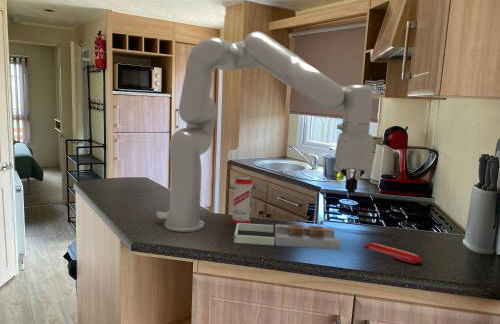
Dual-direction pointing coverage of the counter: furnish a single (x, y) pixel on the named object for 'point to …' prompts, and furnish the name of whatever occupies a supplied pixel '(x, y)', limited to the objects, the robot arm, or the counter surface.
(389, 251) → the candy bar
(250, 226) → the tray
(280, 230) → the slot channel
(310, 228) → the walnut block
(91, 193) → the counter surface
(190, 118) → the robot arm
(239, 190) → the beer can
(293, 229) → the walnut block
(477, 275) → the counter surface
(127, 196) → the counter surface
